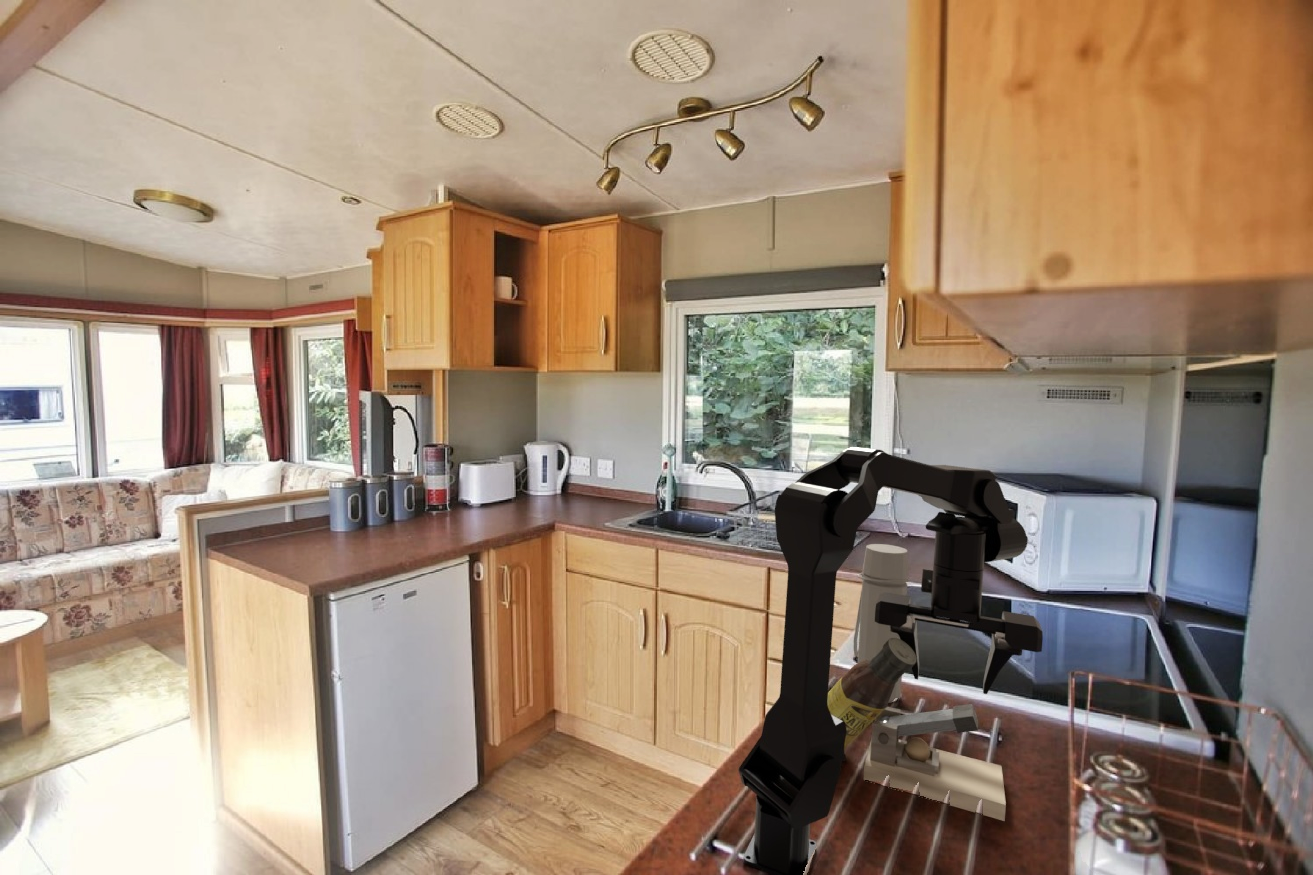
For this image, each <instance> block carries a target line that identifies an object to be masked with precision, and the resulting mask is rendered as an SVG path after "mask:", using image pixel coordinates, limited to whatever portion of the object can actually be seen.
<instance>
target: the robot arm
mask: <svg viewBox="0 0 1313 875" xmlns="http://www.w3.org/2000/svg"><path fill="white" fill-rule="evenodd" d="M851 483H855V486H854V487H853V488H852V489H851V491H849V492H847V491H846V490H841V489H843V488H846V487H847V486H848V485H849V484H851ZM883 488H886V489H890V490H894V491H899V492H905V493H909V494H913V495H918V496H919V497H920V498H922V501H924V503H925V502H926V503H927V504H928V505H931V506H932V507H935V508H937V509H940V510H943V511H944V512H942V511H939V512H937V514H936V515H935V516H934V517H933V518H931V519H930V520H929V521H928V522H927V523H926V525H925V529H926V530H927V531H930V532H931V531H932V532H935V537H934V551H933V565H932V566H933V568H932V569H926V568H923V569H922V576H921V586H920V588H921V589H920V592H921V593H922V594H928V595H931V596H930V607H929V606H923V605H918V604H911V596H909V595H907V596H905V595H899V594H892V593H886V592H884V593H883V594H881V595H880V596H879V598H878V601H877V603H876V608H875V622H877V623H878V624H883V625H889V626H890V631H891V632H893V633H897V634H898V635H899V637H900V639H901V640H902V641H904V642H905V643H906V644H908V645H909V646H910V647H911V648H912V650H913V651H914V653H915V655H916V663H915V665H914V666H913V667H912V668H911V671H912V674H913V677H914V680H919V674H920V658H919V644H918V643H919V641H918V622H924V623H929V624H935V625H941V626H947V627H953V628H957V629H958V628H959V629H962V630H963V629H964V630H969V631H975V632H981V633H985V634H986V633H988V634H991V640H990V646H989V647H990V648H989V653H988V657H987V662H986V666H985V671H984V677H983V681H982V682H983V685H982V694H984V695H988V693H989V692H990V689H991V688H992V686H993V685H994V682H995V680H996V679H997V676H998V675H999V673H1000V672H1001V670H1002V669H1003V667H1005V666H1006V664H1007V663H1008V661H1009V660H1010V659H1011V658H1012V657H1013V656H1018V657H1019V656H1020V657H1021V656H1022V655H1023V651H1027V652H1035V653H1042V652H1043V642H1044V641H1043V639H1044V637H1043V636H1044V635H1043V630H1042V627H1041V624H1040V622H1039V620H1038V619H1037V618H1036V617H1035V616H1034V615H1030V614H1022V613H1017V612H1012V611H1011V612H1009V611H1004V610H1003V611H1002V614H1001V618H996V617H989V616H985V615H984V616H983V615H981V610H982V596H983V595H982V594H983V584H984V581H983V580H984V566H985V563H990V562H991V563H992V562H997V561H1003V560H1007V559H1008V560H1009V559H1013V558H1017V557H1019V556H1021V555H1022V554H1023V553H1024V552H1025V550H1026V549H1027V546H1028V541H1029V538H1028V536H1027V533H1026V530H1025V529H1024V526H1023V525H1022V524H1021V523H1020V522H1019V521H1018V520H1017V519H1016V518H1015V517H1014V516H1015V511H1014V509H1011V508H1009V506H1008V503H1007V501H1006V498H1005V495H1004V493H1003V490H1002V488H1001V486H1000V483H999V482H998V481H997V475H996V474H995V473H994V472H993V471H991V470H988V469H982V468H981V469H980V468H972V467H965V466H964V467H963V466H955V465H946V464H932V465H931V464H927V463H923V462H920V461H915V460H913V459H907V458H905V457H900V456H897V455H892V454H889V453H887V452H885V451H884V450H882V449H877V448H866V447H858V446H851V447H849V448H845V449H844V450H842V451H841V452H840V453H839V454H837V455H836V456H835V457H834V458H833V459H832V460H829V462H825V463H824V464H822V465H820V466H817V467H816V468H813V469H811V470H809V471H807V472H806V473H804V474H803V475H802V476H801V477H799V479H797V480H796V481H795V482H794V483H793V482H792V483H790V484H789V485H788V486H787V487H785V489H784V490H782V493H779V494H778V495H777V498H776V501H775V506H774V520H775V534H776V536H775V537H776V541H777V542H778V545H779V547H780V549H781V552H782V555H783V557H784V559H785V562H786V564H787V585H786V596H785V597H786V600H785V616H784V629H783V644H782V658H781V659H782V661H781V676H780V690H779V697H778V698H777V700H775V702H774V703H773V704H772V706H771V707H770V708H769V710H768V711H767V713H766V714H765V716H764V720H763V725H762V726H763V727H762V731H761V736H760V737H759V738H758V740H756V743H755V744H754V745H753V747H752V748H751V750H750V751H749V753H748V754H747V756H746V757H745V758H744V760H743V762H742V763H741V764H740V766H739V768H738V773H739V776H740V777H739V778H740V780H741V783H742V784H743V785H744V786H745V787H747V788H748V789H749V790H750V791H751V792H753V794H755V795H756V796H755V797H756V798H755V800H756V802H755V816H754V817H755V818H754V819H755V820H754V821H755V822H754V833H753V836H752V838H751V840H750V842H749V844H748V846H747V848H746V850H745V853H744V854H743V858H742V859H743V861H742V862H743V863H744V864H746V865H747V866H749V867H752V868H756V869H758V870H760V871H762V872H766V871H767V872H766V873H768V874H771V875H803V873H804V872H803V871H805V867H806V865H807V864H808V861H809V859H810V857H811V856H812V854H813V852H814V850H815V848H816V846H817V847H818V842H817V841H816V840H814V839H811V838H810V834H811V832H810V831H811V830H810V828H811V824H813V823H815V822H818V821H820V820H822V819H825V818H826V817H828V815H829V813H830V809H831V806H832V803H833V799H834V796H835V793H836V790H837V787H838V786H837V785H838V783H839V780H840V774H841V772H842V771H841V770H842V762H846V761H847V758H846V757H847V756H846V754H845V750H844V744H845V738H846V733H847V730H846V725H845V722H844V721H842V720H840V719H839V718H837V717H835V716H834V715H832V714H831V713H830V711H829V708H828V703H827V700H828V692H829V683H830V682H829V681H830V670H831V669H830V667H831V655H832V654H831V653H832V642H833V641H832V640H833V625H834V615H835V614H834V612H835V611H834V609H835V598H836V597H835V595H836V585H837V584H836V583H837V582H836V581H837V574H838V573H837V572H838V571H839V570H840V568H841V567H842V566H843V564H844V563H845V561H846V560H848V559H847V558H849V556H850V555H851V553H852V552H853V550H854V546H855V541H856V536H857V532H858V528H860V526H861V525H862V524H863V523H864V522H865V521H866V520H867V519H868V518H869V517H870V516H871V515H872V514H873V513H874V512H875V510H876V506H877V501H878V496H879V491H881V489H883ZM808 872H809V873H810V870H809V871H808Z"/></svg>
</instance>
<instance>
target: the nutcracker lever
mask: <svg viewBox="0 0 1313 875" xmlns="http://www.w3.org/2000/svg"><path fill="white" fill-rule="evenodd" d="M880 722H884V723H888V724H892V725H896V726H897V737H898V736H899V737H908V736H915V735H923V734H924V735H925V734H926V735H927V734H934V733H942V732H952V731H956V732H957V733H958V734H960V733H969V732H978V731H979V723H978V722H979V721H978V716H977V713H976V710H975V707H974V704H973V703H969V704H961V705H953V706H952V708H949V709H942V710H934V711H933V710H932V711H926V712H925V711H924V712H918V713H917V712H916V713H909V714H900V715H899V716H891V717H890V716H883V717H882V718H881V720H880Z"/></svg>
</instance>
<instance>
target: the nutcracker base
mask: <svg viewBox="0 0 1313 875" xmlns="http://www.w3.org/2000/svg"><path fill="white" fill-rule="evenodd" d="M901 711H902V710H901V709H899V708H895V707H890V706H887V707H886V708H885V709H884V711H883V712H882V713H880V714H879V715H878V716H877V717H876V718H875V719H874V720H873V722H872V723H871V724H872V725H871V726H872V727H871V740H870V744H869V747H868V752H867V754H866V759H865V761H864V764H863V765H864V766H863V767H864V768H863V781H865V780H869V781H875V782H876V781H877V782H883V780H885V778H886V776H888V775H889V776H890V782H889V783H890V787H893V788H899V789H903V790H908V791H912V790H913V787H915V785H917V783H918V782H919V792H920V796H924V797H926V798H925V799H927V798H929V799H928V800H930V799H932V800H931V801H933V800H937V801H943V799H944V798H945V797H946V795H947V794H948V791H949V790H950V800H949V802H950V805H949V806H951V807H954V808H958V809H961V810H964V811H969V812H971V813H975V810H976V808H977V805H978V802H979V801H980V800H981V799H982V801H983V815H982V816H986V817H989V818H993V819H995V820H999V821H1002V822H1005V821H1006V820H1005V819H1006V807H1007V805H1006V804H1007V802H1006V795H1005V794H1006V793H1005V787H1004V776H1003V768H1002V765H1001V764H996V763H993V762H988V761H984V760H980V759H978V758H977V759H976V758H973V757H968V756H964V755H961V754H958V753H957V754H956V753H954V752H949V751H946V750H942V749H937V748H936V747H930V746H929V749H930V756H929V758H928V759H927V760H926V761H925V762H919V761H916V760H912V759H910V758H909V757H908V756H907V754H906V751H905V745H906V743H907V741H908V740H903V739H900V736H898V737H897V726H896V725H892V724H888V723H884V722H880V720H881V718H882V717H883V716H890V717H891V716H899V715H902V714H901ZM920 796H919V797H920ZM937 801H936V802H937Z"/></svg>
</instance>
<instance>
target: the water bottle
mask: <svg viewBox="0 0 1313 875" xmlns="http://www.w3.org/2000/svg"><path fill="white" fill-rule="evenodd" d="M857 577H858V578H859V579H861V581H862V583H861V591H860V598H859V604H858V611H857V618H856V622H855V628H854V629H855V630H854V636H853V653H854V654H853V655H854V657H857V663H859V662H863V661H866V660H867V661H870V660H872V658H873V657H875V656H876V655H877V654H878V653H879V652H880V651H881V650H882V649H883V645H884V644H885V643H886V642H887V641H888V640H889V639H890V638H898V639H900V637H899V635H898V634H897V633H893V632H891V631H890V626H889V625H883V624H878V623H877V622H875V608H876V603H877V601H878V598H879V596H880V595H881V594H883V593H884V592H886V593H892V594H899V595H905V596H908V584H907V583H908V582H909V579H910V576H909V554H908V549H906V548H904V547H901V546H897V545H892V544H884V543H883V544H881V543H871V544H870V543H869V544H867V545H866V547H865V553H864V560H863V566H862V571H861V572H860V573H858V574H857ZM902 680H903V675H902V676H901V677H900V678H899V680H898V681H897V682H896V683H895V686H894V689H893V691H892V694H891V697H890V699H889V702H888V704H893V703H892V701H893V700H894V699H895V698H899V699H900V698H901V695H902V682H903V681H902Z"/></svg>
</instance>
